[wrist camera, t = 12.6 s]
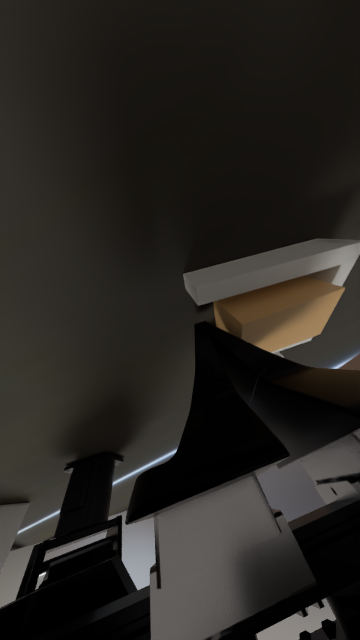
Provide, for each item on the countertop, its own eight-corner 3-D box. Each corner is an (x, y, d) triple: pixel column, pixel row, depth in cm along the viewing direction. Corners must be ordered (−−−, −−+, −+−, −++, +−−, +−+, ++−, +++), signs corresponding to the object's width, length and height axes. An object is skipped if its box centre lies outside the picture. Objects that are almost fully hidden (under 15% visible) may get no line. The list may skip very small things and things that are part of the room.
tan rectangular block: (278, 309, 12) (320, 334, 9) (216, 331, 12) (240, 363, 9) (287, 271, 10) (345, 287, 7) (212, 297, 10) (242, 324, 7)
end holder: (285, 324, 13) (310, 340, 11) (196, 352, 12) (206, 375, 10) (316, 238, 9) (367, 240, 7) (182, 273, 8) (195, 287, 6)
